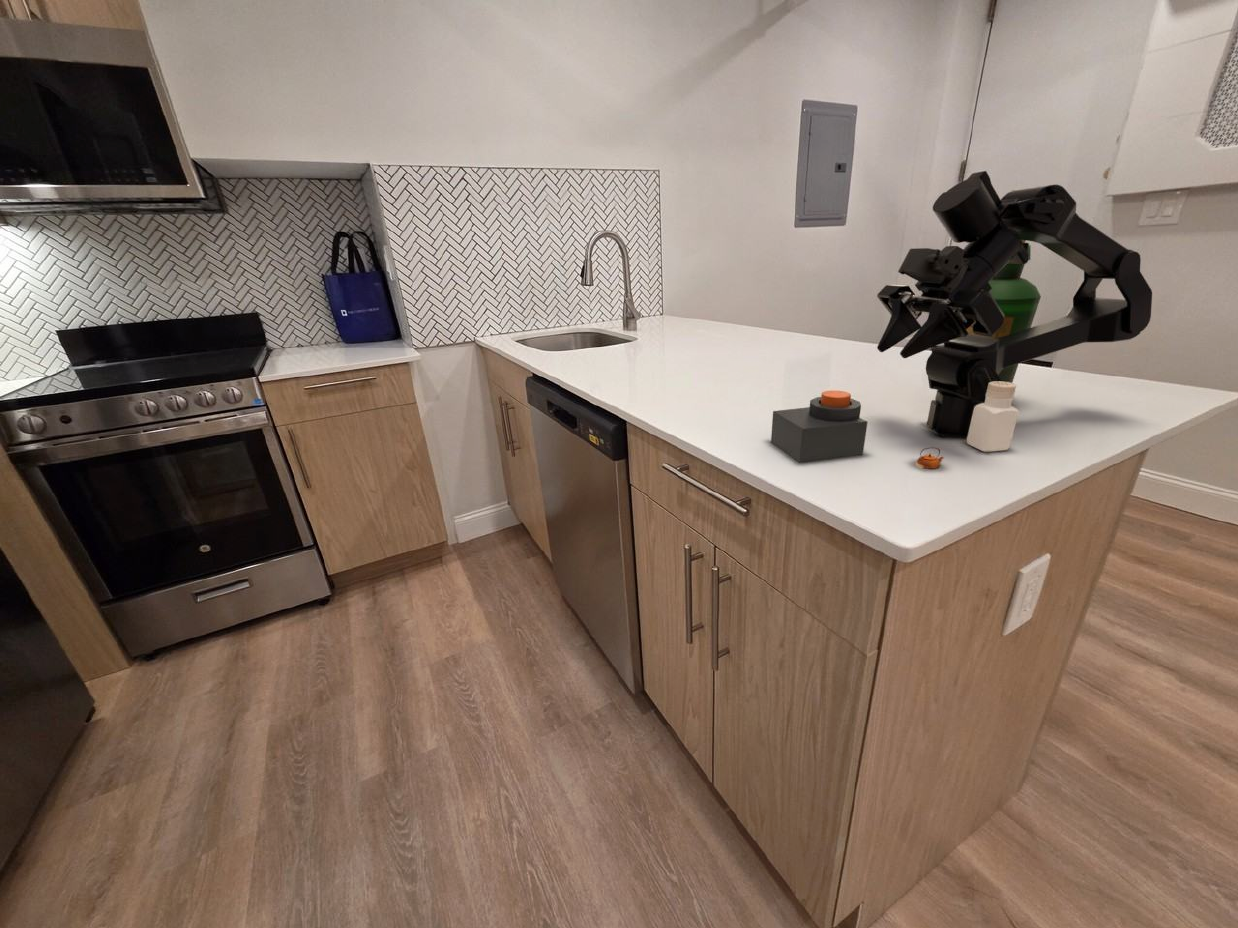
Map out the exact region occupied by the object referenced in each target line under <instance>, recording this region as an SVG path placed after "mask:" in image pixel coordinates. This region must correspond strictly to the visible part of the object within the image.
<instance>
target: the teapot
mask: <svg viewBox="0 0 1238 928" xmlns="http://www.w3.org/2000/svg"><path fill="white" fill-rule="evenodd" d="M929 449H935V450H937V451H938V455H937V456H936V455H932V454H931V453H929V454H923V455H922V452H923V451H925V450H929ZM940 454H941V449H940V448H939V447H933V446H932V447H926V448H923V449H922V450H921V451H920V452H919V455H920V457H919V458H917V460H916V463H915V465H916V466H917V467H918V468H920V469H924V470H933V469H937V468H939V467H940V465H941V463H942V461H943V459H944V458H945V457H944V456H940ZM939 456H940V457H939Z"/></svg>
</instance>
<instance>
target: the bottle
mask: <svg viewBox="0 0 1238 928" xmlns="http://www.w3.org/2000/svg"><path fill="white" fill-rule="evenodd" d="M1021 241H1022V243H1026V241H1027V240H1021ZM1031 247H1032V245H1031V244H1029V246H1028V253H1029V258H1028V261H1031V252H1032V251H1031ZM1025 265H1026V264H1006V265H1005V266H1004V267H1003V268H1002V269H1001V270H1000V271H999V272H998V273H997V274H996V275H995V276H994V277H993V278H992V280H991V281H990V282H989V284H990V286H991V287H992V289H991V290H990V291H989V292H990V293H991V295H992V296H993V298H994V300H995V301H996V303H997V304H998V306H999V307H1000V309H1001V310H1002V312H1003V313H1004V315H1005V317H1004V322H1003V325H1002V326H1001V327H1000V328H999V329H998V330H997V331H996V332H995V333H994V334H993V335H992V336H991V337H990V336H984V335H978V334H975V333H974V332H973V325H974V324H975V323H973V324H972V325H971V326H970V327H969V328H968V329H967V332H968V334H972V335H978V336H984V337H990V338H996V339H997V338H1000V337H1003V336H1006V335H1009V334H1013V333H1016V332H1019V331H1022V330H1025V329H1029V328H1032V324H1033V321H1034V318H1035V315H1036V313H1037V310H1038V307H1039V303H1040V301H1041V298H1042V296H1041V294H1040V292H1039V290H1038V288H1037V286H1036V285H1035V284H1033V283H1032V282H1030V281H1029V280H1027V279H1026V278H1024V277H1021V276H1022V273H1023V271H1024V268H1025ZM1018 367H1019V364H1016V365H1013V366H1009V367H1006V368H1004V369H1002V370H1001V372H1000V373H999V377H1000V378H1001V380H1002V381H1003V382H1010V383H1014V379H1015V376H1016V373H1017V370H1018Z"/></svg>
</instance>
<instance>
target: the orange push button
mask: <svg viewBox="0 0 1238 928" xmlns="http://www.w3.org/2000/svg"><path fill="white" fill-rule="evenodd" d="M820 395H821V396H820V397H821V403H820V404H821V405H824V406H829V407H847V406H850V399H852V394H851V393H850V392H849V391H844V390H839V389H838V390H837V389H836V390H835V389H833V390H832V389H831V390H824V391H822V392H821V394H820Z"/></svg>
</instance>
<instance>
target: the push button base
mask: <svg viewBox="0 0 1238 928" xmlns="http://www.w3.org/2000/svg"><path fill="white" fill-rule="evenodd" d="M820 403H821V396H817V397H814V398H812V399H810V400H809V406H808V407H807V406H806V407H797V408H788V409H782V410H781V409H780V410H773V411H772V420H771V422H772V423H771V434H770V443H771V444H773V445H774V446H775V447H777V448H778V449H780V450H781V451H782V452H784V453H785V454H787V456H789V457H790V458H792V459H793V460H795V461H796V462H797V463H799V464H804V463H810V462H820V461H826V460H827V461H828V460H834V459H842V458H849V457H850V458H851V457H858V456H864V449H865V443H866V436H867V427H868V420H865V419H863V418H861V417H860V416H861V409H862V403H861V402H860V401H859V400H857V399H854V398H851V399H850V406H847V407H829V406H824V405H821V404H820Z"/></svg>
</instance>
